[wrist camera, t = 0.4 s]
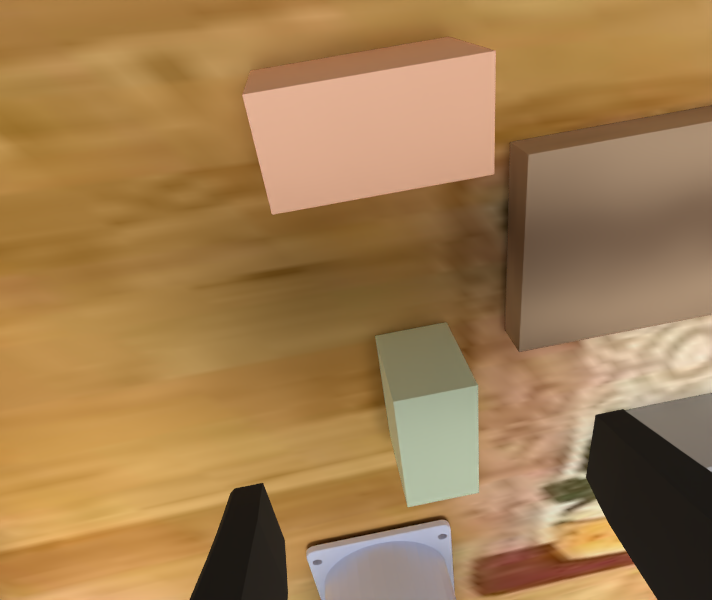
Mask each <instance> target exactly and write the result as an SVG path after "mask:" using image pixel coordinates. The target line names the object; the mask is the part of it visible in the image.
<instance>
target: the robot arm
mask: <svg viewBox="0 0 712 600" xmlns="http://www.w3.org/2000/svg"><path fill="white" fill-rule="evenodd" d="M586 478H587V480H588V482H589V484H590V486H591V489H592V491H593V493H594V495H595V497H596V499H597V501H598V503H599V505H600V507H601V509H602V511H603V513H604V515H605V517H606V519H607V521H608V523H609V524H610V526H611V528H612V529H613V531H614V532H615V534H616V536H617V537H618V539H619V540H620V542H621V544H622V545H623V547H624V548H625V550H626V551H627V553H628V554H629V556H630V558H631V559H632V561H633V562H634V564H635V565H636V567H637V569H638V570H639V572H640V573H641V575H642V576H643V578H644V579H645V581H646V582H647V584H648V586H649V587H650V589H651V590H652V592H653V593H654V595H655V596H656V598H657V599H658V600H712V472H711V471H710V470H708V469H707V468H705V467H704V466H702V465H701V464H700V463H698V462H697V461H695V460H694V459H692V458H691V457H690V456H688V455H687V454H685V453H684V452H682V451H681V450H680V449H678V448H677V447H675V446H674V445H673V444H671V443H670V442H668V441H667V440H666V439H664V438H663V437H661V436H660V435H659V434H657V433H656V432H654V431H653V430H652V429H650V428H649V427H647V426H646V425H645V424H643V423H642V422H640V421H639V420H638V419H636V418H635V417H634V416H632V415H631V414H629V413H628V412H626V411H625V410H624V409H622V410H617V411H613V412H608V413H603V414H598V415H596V416H595V423H594V429H593V436H592V442H591V449H590V455H589V462H588V468H587V474H586ZM306 554H307V561H308V563H309V566H310V569H311V572H312V575H313V578H314V581H315V584H316V587H317V589H318V592H319V595H320V598H321V600H456V597H455V591H454V575H453V559H452V542H451V528H450V525H449V522H448V521H446V520H437V521H432V522H427V523H422V524H417V525H413V526H408V527H403V528H398V529H393V530H388V531H383V532H378V533H374V534H369V535H364V536H359V537H354V538H349V539H344V540H339V541H335V542H330V543H325V544H320V545H315V546H312V547H310V548H308V549H307V551H306ZM190 600H288V586H287V568H286V553H285V540H284V537H283V534H282V532H281V529H280V526H279V524H278V521H277V519H276V516H275V513H274V511H273V508H272V505H271V503H270V500H269V497H268V495H267V492H266V490H265V487H264V484H263V483H260V484H255V485H250V486H245V487H240V488H235V489H234V490H233V491H232V492H231V493H230V496H229V499H228V502H227V505H226V508H225V511H224V514H223V517H222V520H221V523H220V525H219V528H218V531H217V534H216V536H215V539H214V542H213V544H212V547H211V549H210V552H209V554H208V557H207V560H206V562H205V564H204V567H203V569H202V571H201V574H200V576H199V579H198V581H197V583H196V586H195V588H194V590H193V593H192V595H191V598H190Z"/></svg>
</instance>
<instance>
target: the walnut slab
mask: <svg viewBox="0 0 712 600" xmlns="http://www.w3.org/2000/svg"><path fill="white" fill-rule="evenodd" d="M711 314H712V105H711V106H706V107H700V108H695V109H689V110H684V111H678V112H673V113H667V114H662V115H656V116H651V117H645V118H640V119H634V120H629V121H623V122H618V123H612V124H607V125H601V126H596V127H590V128H585V129H579V130H574V131H568V132H562V133H557V134H551V135H546V136H540V137H535V138H529V139H524V140H518V141H513V142H510V161H509V198H508V236H507V274H506V311H505V331H506V333H507V334H508V336H509V337H510V339H511V340H512V342H513V343H514V345H515V346H516V348H517V349H518V351H519V352H522V351H527V350H532V349H537V348H542V347H547V346H553V345H558V344H563V343H568V342H573V341H578V340H583V339H589V338H594V337H599V336H604V335H609V334H614V333H620V332H625V331H630V330H635V329H640V328H645V327H650V326H656V325H661V324H666V323H671V322H676V321H681V320H687V319H692V318H697V317H702V316H707V315H711Z"/></svg>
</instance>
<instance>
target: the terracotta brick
mask: <svg viewBox="0 0 712 600" xmlns="http://www.w3.org/2000/svg"><path fill="white" fill-rule="evenodd" d="M495 65H496V51H495V50H491V49H488V48H485V47H481V46H478V45H475V44H471V43H468V42H465V41H461V40H458V39H455V38H452V37H443V38H438V39H432V40H426V41H420V42H414V43H409V44H403V45H397V46H391V47H385V48H379V49H374V50H368V51H362V52H356V53H350V54H344V55H339V56H333V57H327V58H321V59H315V60H310V61H304V62H298V63H292V64H286V65H280V66H275V67H269V68H263V69H257V70H251V71H250V74H249V77H248V80H247V82H246V85H245V88H244V91H243V94H242V95H243V99H244V103H245V108H246V112H247V116H248V120H249V124H250V128H251V132H252V136H253V140H254V144H255V148H256V152H257V156H258V160H259V164H260V168H261V172H262V176H263V180H264V184H265V188H266V192H267V196H268V200H269V204H270V208H271V212H272V215H273V214H279V213H284V212H290V211H295V210H301V209H306V208H312V207H317V206H323V205H328V204H334V203H339V202H345V201H350V200H356V199H361V198H367V197H372V196H378V195H383V194H389V193H394V192H400V191H405V190H411V189H416V188H422V187H427V186H433V185H438V184H444V183H449V182H455V181H460V180H466V179H471V178H477V177H482V176H488V175H493V174H494V151H495Z"/></svg>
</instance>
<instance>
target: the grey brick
mask: <svg viewBox="0 0 712 600" xmlns="http://www.w3.org/2000/svg"><path fill="white" fill-rule="evenodd" d="M625 411H626V412H628V413H629V414H631V415H632V416H634V417H635V418H636V419H638V420H639V421H640V422H642V423H643V424H645V425H646V426H647V427H649V428H650V429H652V430H653V431H654V432H656V433H657V434H659V435H660V436H661V437H663V438H664V439H666V440H667V441H668V442H670V443H671V444H673V445H674V446H675V447H677V448H678V449H680V450H681V451H682V452H684V453H685V454H687V455H688V456H690V457H691V458H692V459H694V460H695V461H697V462H698V463H700V464H701V465H702V466H704V467H705V468H707V469H708V470H710V471H711V472H712V393H709V394H704V395H699V396H694V397H689V398H684V399H679V400H674V401H669V402H664V403H659V404H654V405H649V406H644V407H639V408H634V409H629V410H625Z"/></svg>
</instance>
